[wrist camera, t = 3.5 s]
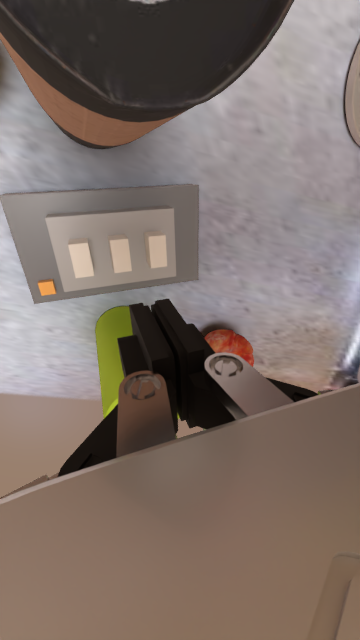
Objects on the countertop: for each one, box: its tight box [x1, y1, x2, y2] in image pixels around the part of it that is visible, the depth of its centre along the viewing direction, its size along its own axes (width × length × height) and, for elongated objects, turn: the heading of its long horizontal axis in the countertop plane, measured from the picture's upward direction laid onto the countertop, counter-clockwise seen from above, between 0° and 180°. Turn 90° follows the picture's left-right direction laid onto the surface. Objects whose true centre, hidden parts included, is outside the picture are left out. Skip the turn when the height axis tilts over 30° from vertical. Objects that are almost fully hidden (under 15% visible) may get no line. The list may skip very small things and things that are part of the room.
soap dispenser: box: [95, 306, 179, 439], centre depth 23 cm, size 6×7×20 cm
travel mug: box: [0, 0, 294, 149], centre depth 12 cm, size 8×8×20 cm
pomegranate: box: [205, 329, 254, 367], centre depth 34 cm, size 7×7×10 cm
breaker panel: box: [0, 184, 199, 304], centre depth 24 cm, size 16×9×6 cm, turn 92°
